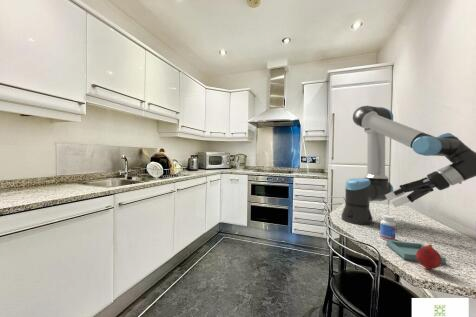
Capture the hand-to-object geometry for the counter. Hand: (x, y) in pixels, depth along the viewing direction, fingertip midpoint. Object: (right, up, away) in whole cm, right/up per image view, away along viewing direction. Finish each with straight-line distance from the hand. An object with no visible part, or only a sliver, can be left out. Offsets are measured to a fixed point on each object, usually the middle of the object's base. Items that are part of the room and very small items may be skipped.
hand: (390, 201), depth 94 cm
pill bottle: (-5, -15, -5) cm, 17 cm away
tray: (-6, -15, -19) cm, 25 cm away
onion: (-10, -16, -30) cm, 35 cm away
